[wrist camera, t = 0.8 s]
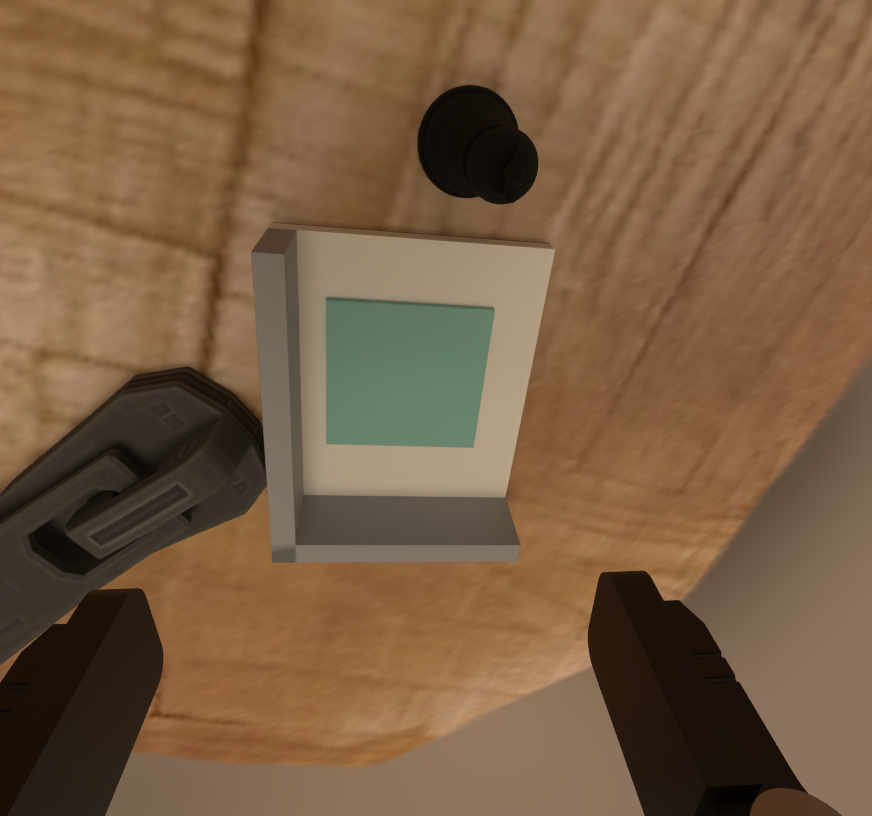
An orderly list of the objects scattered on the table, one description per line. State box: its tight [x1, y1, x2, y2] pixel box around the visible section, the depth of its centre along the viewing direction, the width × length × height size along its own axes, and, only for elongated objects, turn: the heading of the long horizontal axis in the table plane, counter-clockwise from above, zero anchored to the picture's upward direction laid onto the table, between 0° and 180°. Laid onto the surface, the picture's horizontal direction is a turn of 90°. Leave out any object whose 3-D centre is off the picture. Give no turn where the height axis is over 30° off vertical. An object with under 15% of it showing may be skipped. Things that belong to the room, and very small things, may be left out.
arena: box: [251, 223, 555, 562], centre depth 28 cm, size 16×13×5 cm
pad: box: [326, 298, 495, 448], centre depth 28 cm, size 8×8×1 cm
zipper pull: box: [0, 367, 267, 665], centre depth 29 cm, size 9×7×25 cm
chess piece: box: [418, 85, 538, 204], centre depth 20 cm, size 4×4×10 cm
